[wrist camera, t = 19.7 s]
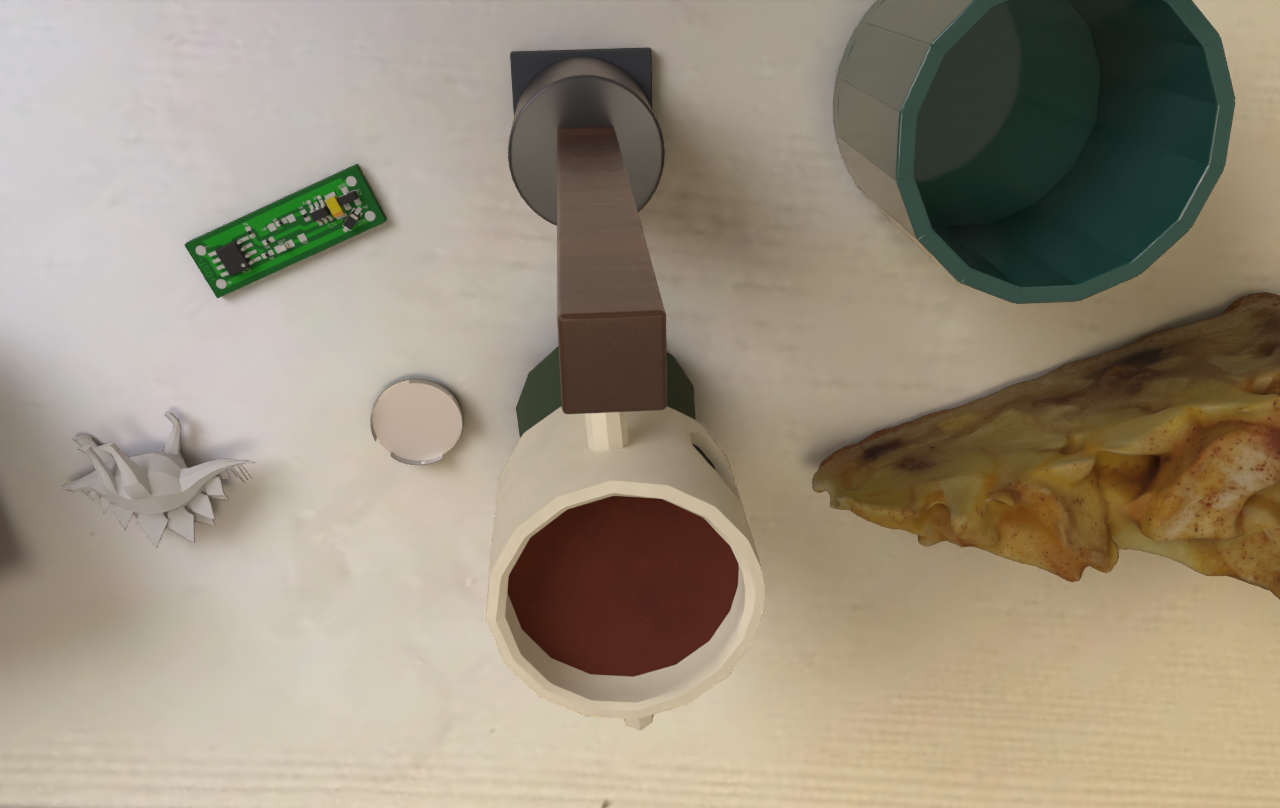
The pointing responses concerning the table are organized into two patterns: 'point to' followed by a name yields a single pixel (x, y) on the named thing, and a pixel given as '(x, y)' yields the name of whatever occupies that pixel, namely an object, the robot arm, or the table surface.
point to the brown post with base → (596, 228)
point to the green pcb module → (286, 231)
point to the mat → (625, 58)
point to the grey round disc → (417, 421)
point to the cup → (1036, 134)
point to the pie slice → (1099, 458)
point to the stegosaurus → (154, 485)
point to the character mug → (620, 555)
